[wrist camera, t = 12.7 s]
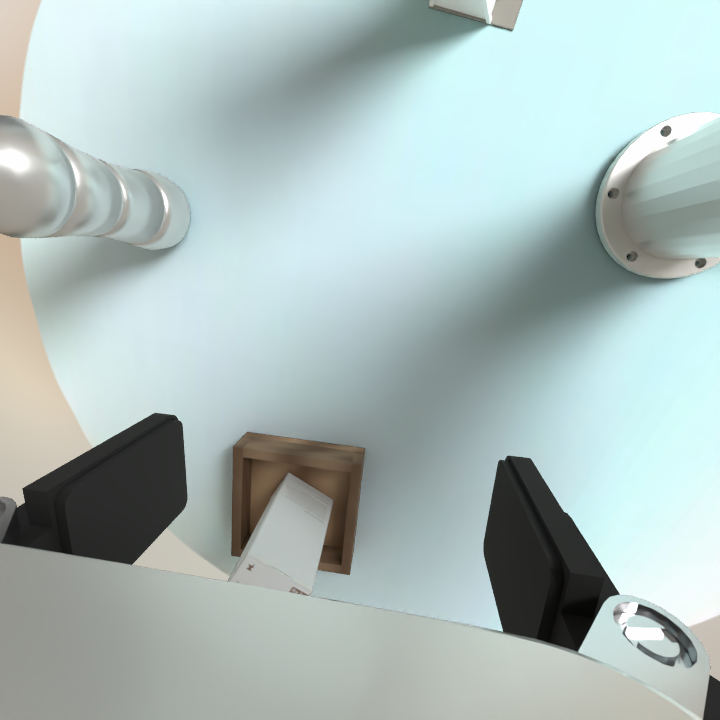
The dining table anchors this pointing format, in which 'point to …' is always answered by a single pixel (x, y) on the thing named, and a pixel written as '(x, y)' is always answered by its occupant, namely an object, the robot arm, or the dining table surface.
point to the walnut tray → (313, 466)
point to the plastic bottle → (82, 193)
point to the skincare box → (286, 540)
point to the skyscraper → (482, 10)
